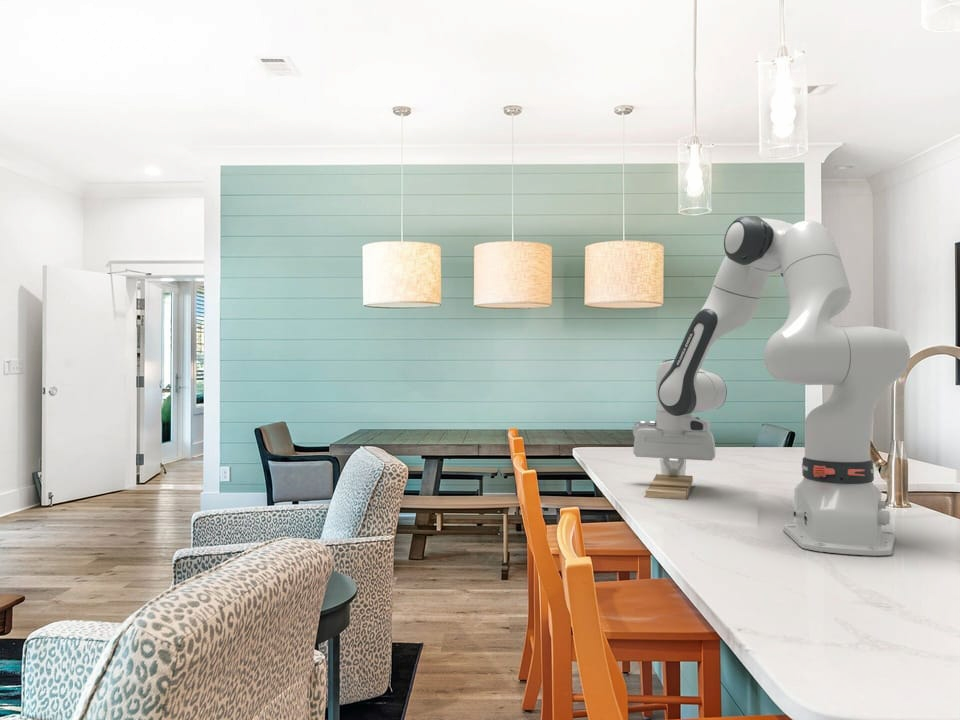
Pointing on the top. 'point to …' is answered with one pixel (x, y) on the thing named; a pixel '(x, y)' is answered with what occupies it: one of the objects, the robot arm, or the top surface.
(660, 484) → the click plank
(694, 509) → the top surface
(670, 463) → the white ramekin cup
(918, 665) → the top surface
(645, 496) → the block
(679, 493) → the laid strip
